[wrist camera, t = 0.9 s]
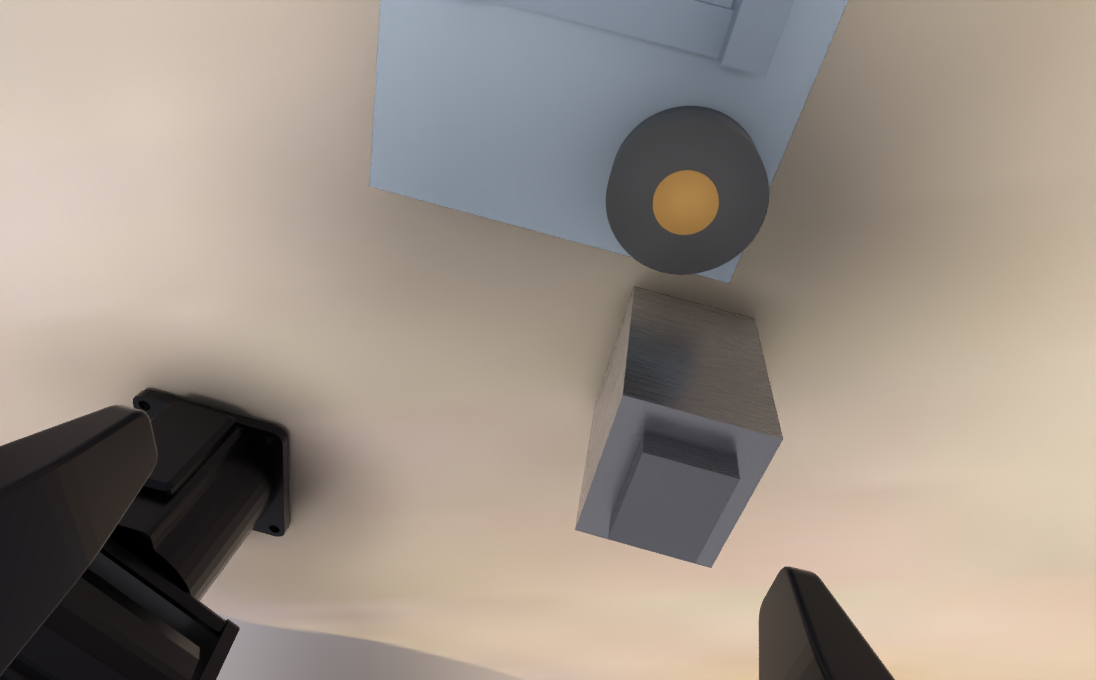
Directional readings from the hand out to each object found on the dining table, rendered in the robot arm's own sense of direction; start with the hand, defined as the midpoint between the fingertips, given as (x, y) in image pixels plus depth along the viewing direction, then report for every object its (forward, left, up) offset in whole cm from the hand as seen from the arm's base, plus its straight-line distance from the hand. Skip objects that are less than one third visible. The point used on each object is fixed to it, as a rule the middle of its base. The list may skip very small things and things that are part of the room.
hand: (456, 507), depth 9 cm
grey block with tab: (-5, -5, -13) cm, 14 cm away
